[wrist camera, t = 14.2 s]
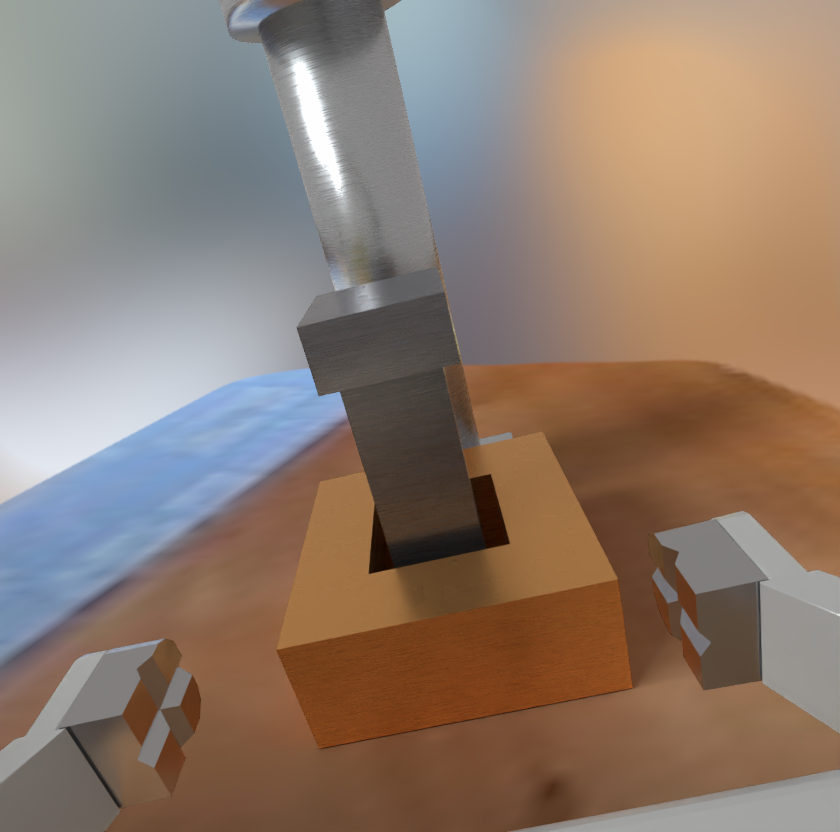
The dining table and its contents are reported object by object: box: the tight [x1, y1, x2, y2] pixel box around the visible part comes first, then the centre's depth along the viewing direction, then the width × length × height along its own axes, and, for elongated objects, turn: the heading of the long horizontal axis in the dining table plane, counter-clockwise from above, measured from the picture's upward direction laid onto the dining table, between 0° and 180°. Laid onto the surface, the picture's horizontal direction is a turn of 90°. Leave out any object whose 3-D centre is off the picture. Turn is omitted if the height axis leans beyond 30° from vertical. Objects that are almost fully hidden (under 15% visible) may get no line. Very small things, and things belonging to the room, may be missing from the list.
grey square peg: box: [297, 267, 486, 568], centre depth 20 cm, size 4×4×12 cm
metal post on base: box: [219, 0, 633, 748], centre depth 21 cm, size 16×10×24 cm, turn 2°
